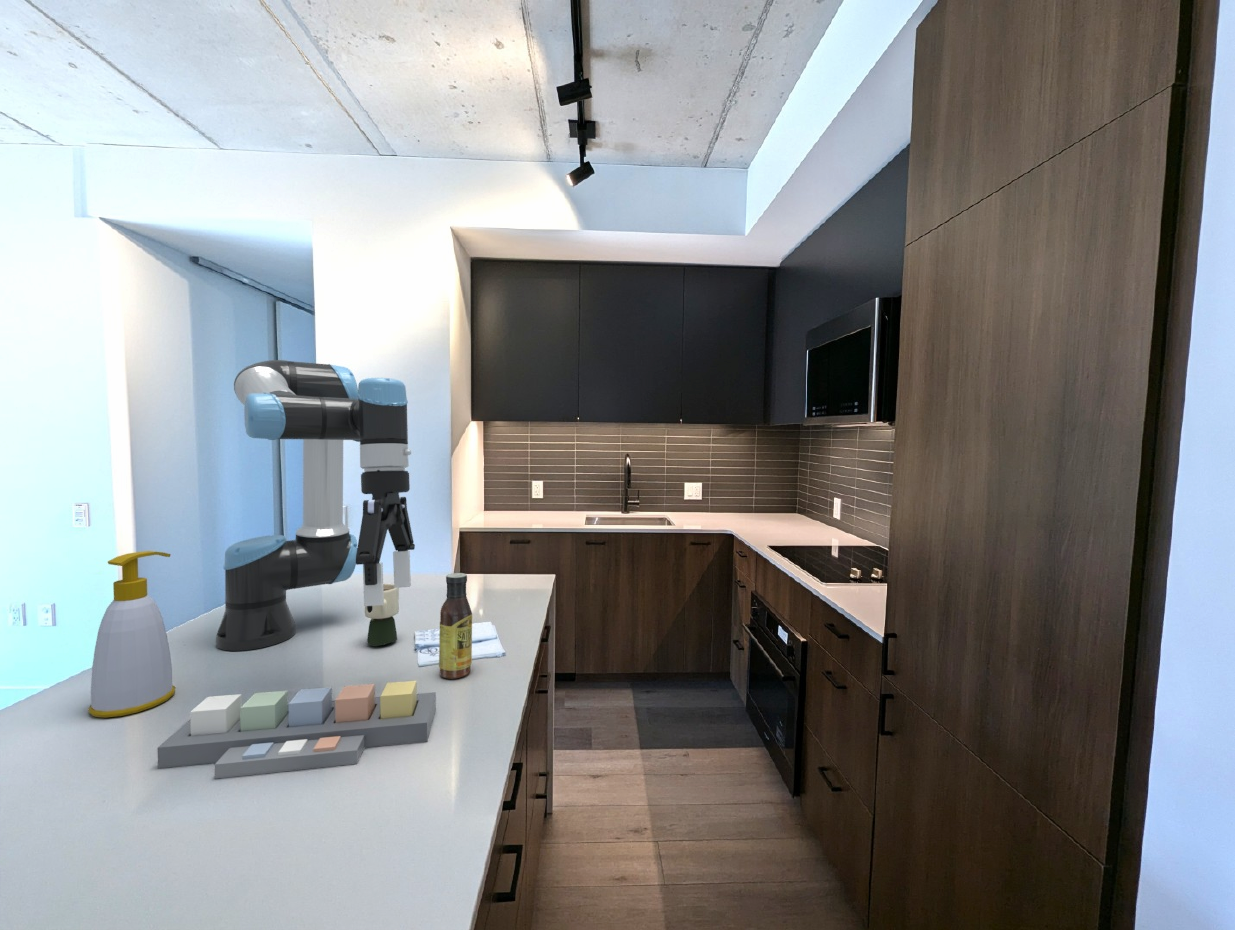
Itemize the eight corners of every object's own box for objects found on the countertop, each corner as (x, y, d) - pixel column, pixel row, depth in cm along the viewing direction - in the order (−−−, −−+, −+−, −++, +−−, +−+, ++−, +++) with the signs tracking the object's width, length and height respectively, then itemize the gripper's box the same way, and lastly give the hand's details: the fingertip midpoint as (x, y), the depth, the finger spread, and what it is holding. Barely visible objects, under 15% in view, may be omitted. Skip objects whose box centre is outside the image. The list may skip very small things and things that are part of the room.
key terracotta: (344, 710, 85) (344, 686, 85) (375, 707, 86) (374, 683, 86) (335, 725, 80) (335, 699, 80) (367, 722, 81) (367, 697, 81)
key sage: (255, 717, 82) (254, 693, 82) (287, 715, 83) (287, 690, 83) (240, 733, 78) (240, 707, 78) (275, 730, 79) (274, 704, 79)
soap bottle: (192, 693, 95) (189, 550, 94) (114, 725, 84) (109, 564, 83) (152, 683, 99) (148, 545, 98) (72, 712, 88) (67, 558, 87)
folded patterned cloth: (494, 628, 132) (494, 619, 132) (506, 659, 113) (506, 649, 113) (413, 636, 125) (413, 627, 125) (412, 671, 106) (412, 661, 106)
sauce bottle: (462, 682, 101) (462, 580, 100) (432, 678, 102) (432, 578, 101) (477, 667, 107) (477, 572, 106) (449, 664, 108) (449, 570, 108)
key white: (208, 721, 81) (207, 696, 81) (241, 719, 82) (241, 694, 82) (190, 738, 76) (190, 711, 76) (226, 735, 77) (225, 708, 77)
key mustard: (387, 706, 86) (387, 682, 86) (416, 704, 87) (416, 680, 87) (380, 721, 82) (380, 696, 82) (411, 718, 83) (411, 693, 83)
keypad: (199, 730, 83) (198, 711, 83) (435, 709, 91) (435, 692, 90) (138, 786, 69) (137, 764, 69) (422, 756, 77) (422, 736, 77)
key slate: (300, 714, 84) (300, 689, 83) (332, 711, 85) (331, 687, 84) (288, 729, 79) (288, 703, 79) (322, 726, 80) (321, 701, 80)
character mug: (363, 638, 122) (362, 583, 122) (395, 633, 126) (395, 579, 125) (367, 654, 113) (366, 595, 112) (402, 648, 117) (401, 591, 116)
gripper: (381, 467, 77) (385, 612, 76) (428, 470, 101) (432, 579, 101) (327, 469, 76) (332, 616, 75) (388, 472, 101) (392, 582, 100)
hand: (389, 595), depth 88 cm, fingers open, 13 cm apart
